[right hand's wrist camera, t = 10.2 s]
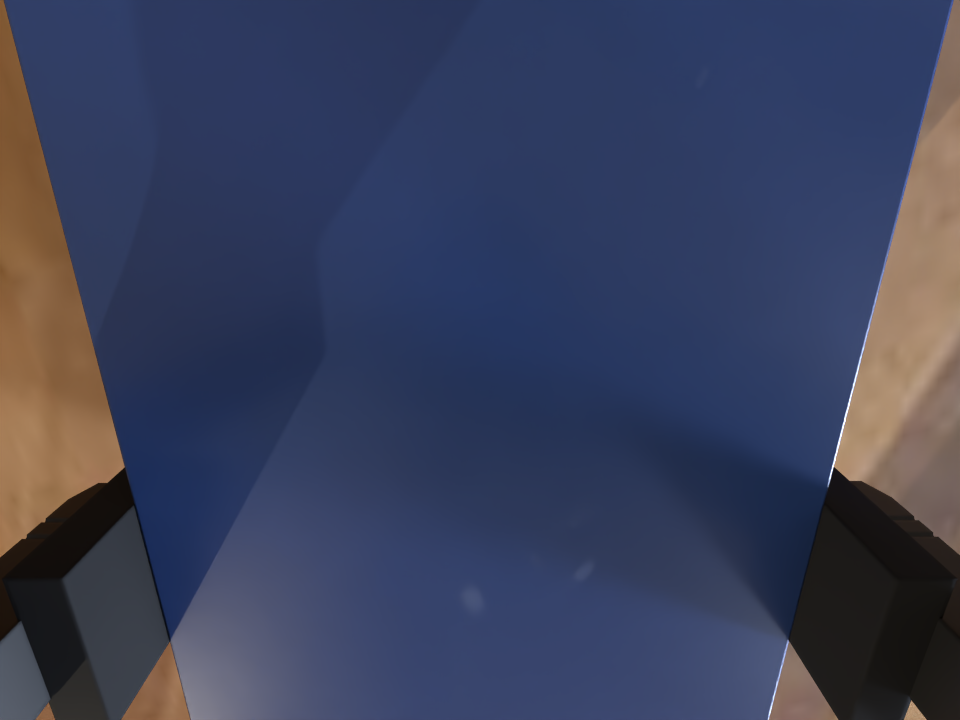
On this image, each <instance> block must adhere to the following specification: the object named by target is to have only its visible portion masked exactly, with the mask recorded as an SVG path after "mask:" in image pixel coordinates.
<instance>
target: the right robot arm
mask: <svg viewBox="0 0 960 720" xmlns="http://www.w3.org/2000/svg"><path fill="white" fill-rule="evenodd" d="M789 641H790V643H791V645H792V646H793V648H794V649H795V651H796V653H797V654H798V656H799V657H800V659H801V661H802V662H803V664H804V665H805V667H806V669H807V670H808V672H809V673H810V675H811V677H812V678H813V680H814V681H815V683H816V684H817V686H818V688H819V689H820V691H821V692H822V694H823V696H824V697H825V699H826V700H827V702H828V704H829V705H830V707H831V708H832V710H833V712H834V713H835V715H836V716H837V718H838V720H904V718H905V715H906V712H907V710H908V707H909V705H910V702H911V700H912V701H913V703H914V704H915V705H916V706H917V708H918V709H919V710H920V712H921V713H922V714H923V715H924V717H925V718H926V719H927V720H960V555H959V554H958V553H956V552H955V551H954V550H953V549H952V548H951V547H949V546H948V545H947V544H946V543H945V542H943V541H942V540H941V539H940V538H939V537H934V536H933V532H932V531H931V530H929V529H928V528H927V527H926V526H925V525H923V524H922V523H921V522H920V521H919V520H914V516H913V515H912V514H911V513H909V512H908V511H907V510H906V509H905V508H903V507H902V506H901V505H900V504H899V503H898V502H896V501H895V500H894V499H893V498H892V497H890V496H888V495H886V494H884V493H883V492H881V491H879V490H877V489H875V488H873V487H871V486H870V485H868V484H866V483H864V482H862V481H849V480H848V479H847V478H846V477H845V476H843V475H842V474H841V473H840V472H839V471H838V470H837V469H836V468H835V467H833V471H832V475H831V479H830V483H829V487H828V490H827V494H826V498H825V502H824V506H823V510H822V514H821V518H820V522H819V525H818V529H817V533H816V537H815V541H814V545H813V549H812V553H811V557H810V560H809V564H808V568H807V572H806V576H805V580H804V584H803V588H802V592H801V595H800V599H799V603H798V607H797V611H796V615H795V619H794V623H793V627H792V630H791V634H790V638H789ZM169 642H170V639H169V635H168V631H167V627H166V623H165V619H164V616H163V612H162V608H161V604H160V600H159V596H158V593H157V589H156V585H155V581H154V577H153V573H152V569H151V566H150V562H149V558H148V554H147V550H146V546H145V542H144V539H143V535H142V531H141V527H140V523H139V519H138V515H137V512H136V508H135V504H134V500H133V496H132V492H131V489H130V485H129V481H128V477H127V473H126V469H125V468H124V469H123V470H121V471H120V472H119V473H118V474H117V475H116V476H115V477H114V478H113V479H111V480H110V481H109V482H108V483H98V484H96V485H94V486H92V487H90V488H88V489H87V490H85V491H83V492H81V493H79V494H77V495H76V496H74V497H72V498H70V499H68V500H67V501H66V502H65V503H64V504H62V505H61V506H60V507H59V508H58V509H56V510H55V511H54V512H53V513H52V514H51V515H49V516H48V517H47V518H46V521H45V523H40V524H39V525H38V526H37V527H35V528H34V529H33V530H32V531H31V532H30V533H28V534H27V538H26V539H21V540H20V541H19V542H18V543H17V544H16V545H14V546H13V547H12V548H11V549H10V550H9V551H7V552H6V553H5V554H4V555H3V556H2V557H0V720H35V719H36V718H37V717H38V715H39V714H40V713H41V711H42V710H43V709H44V707H45V706H46V705H47V704H48V702H49V704H50V707H51V709H52V712H53V715H54V717H55V720H121V719H122V717H123V715H124V714H125V712H126V711H127V709H128V707H129V706H130V704H131V703H132V701H133V699H134V698H135V696H136V695H137V693H138V691H139V690H140V688H141V687H142V685H143V683H144V682H145V680H146V679H147V677H148V675H149V674H150V672H151V671H152V669H153V668H154V666H155V664H156V663H157V661H158V660H159V658H160V656H161V655H162V653H163V652H164V650H165V648H166V647H167V645H168V644H169Z"/></svg>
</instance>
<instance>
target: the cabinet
mask: <svg viewBox="0 0 960 720" xmlns="http://www.w3.org/2000/svg"><path fill="white" fill-rule="evenodd" d="M4 3H5V7H6V11H7V15H8V19H9V22H10V26H11V30H12V34H13V38H14V42H15V46H16V49H17V53H18V57H19V61H20V65H21V69H22V73H23V76H24V80H25V84H26V88H27V92H28V96H29V100H30V103H31V107H32V111H33V115H34V119H35V123H36V126H37V130H38V134H39V138H40V142H41V146H42V150H43V153H44V157H45V161H46V165H47V169H48V173H49V177H50V180H51V184H52V188H53V192H54V196H55V200H56V204H57V207H58V211H59V215H60V219H61V223H62V227H63V230H64V234H65V238H66V242H67V246H68V250H69V254H70V257H71V261H72V265H73V269H74V273H75V277H76V281H77V284H78V288H79V292H80V296H81V300H82V304H83V308H84V311H85V315H86V319H87V323H88V327H89V331H90V334H91V338H92V342H93V346H94V350H95V354H96V358H97V361H98V365H99V369H100V373H101V377H102V381H103V385H104V388H105V392H106V396H107V400H108V404H109V408H110V412H111V415H112V419H113V423H114V427H115V431H116V435H117V438H118V442H119V446H120V450H121V454H122V458H123V462H124V465H125V469H126V473H127V477H128V481H129V485H130V489H131V492H132V496H133V500H134V504H135V508H136V512H137V515H138V519H139V523H140V527H141V531H142V535H143V539H144V542H145V546H146V550H147V554H148V558H149V562H150V566H151V569H152V573H153V577H154V581H155V585H156V589H157V593H158V596H159V600H160V604H161V608H162V612H163V616H164V619H165V623H166V627H167V631H168V635H169V639H170V643H171V646H172V650H173V654H174V658H175V662H176V666H177V670H178V673H179V677H180V681H181V685H182V689H183V693H184V697H185V700H186V704H187V708H188V712H189V716H190V720H769V716H770V712H771V708H772V704H773V700H774V697H775V693H776V689H777V685H778V681H779V677H780V673H781V669H782V665H783V662H784V658H785V654H786V650H787V646H788V642H789V638H790V634H791V630H792V627H793V623H794V619H795V615H796V611H797V607H798V603H799V599H800V595H801V592H802V588H803V584H804V580H805V576H806V572H807V568H808V564H809V560H810V557H811V553H812V549H813V545H814V541H815V537H816V533H817V529H818V525H819V522H820V518H821V514H822V510H823V506H824V502H825V498H826V494H827V490H828V487H829V483H830V479H831V475H832V471H833V467H834V463H835V459H836V455H837V452H838V448H839V444H840V440H841V436H842V432H843V428H844V424H845V420H846V417H847V413H848V409H849V405H850V401H851V397H852V393H853V389H854V385H855V382H856V378H857V374H858V370H859V366H860V362H861V358H862V354H863V350H864V347H865V343H866V339H867V335H868V331H869V327H870V323H871V319H872V315H873V312H874V308H875V304H876V300H877V296H878V292H879V288H880V284H881V280H882V277H883V273H884V269H885V265H886V261H887V257H888V253H889V249H890V245H891V242H892V238H893V234H894V230H895V226H896V222H897V218H898V214H899V210H900V207H901V203H902V199H903V195H904V191H905V187H906V183H907V179H908V175H909V172H910V168H911V164H912V160H913V156H914V152H915V148H916V144H917V140H918V137H919V133H920V129H921V125H922V121H923V117H924V113H925V109H926V105H927V102H928V98H929V94H930V90H931V86H932V82H933V78H934V74H935V70H936V67H937V63H938V59H939V55H940V51H941V47H942V43H943V39H944V35H945V32H946V28H947V24H948V20H949V16H950V12H951V8H952V4H953V0H4Z"/></svg>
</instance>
